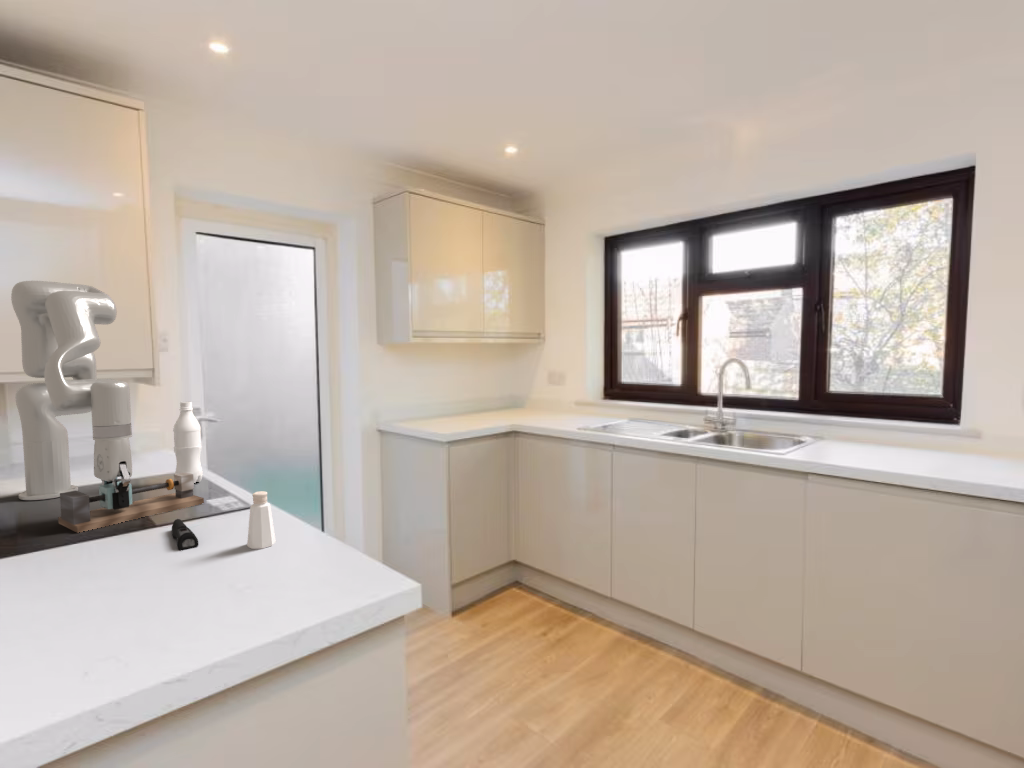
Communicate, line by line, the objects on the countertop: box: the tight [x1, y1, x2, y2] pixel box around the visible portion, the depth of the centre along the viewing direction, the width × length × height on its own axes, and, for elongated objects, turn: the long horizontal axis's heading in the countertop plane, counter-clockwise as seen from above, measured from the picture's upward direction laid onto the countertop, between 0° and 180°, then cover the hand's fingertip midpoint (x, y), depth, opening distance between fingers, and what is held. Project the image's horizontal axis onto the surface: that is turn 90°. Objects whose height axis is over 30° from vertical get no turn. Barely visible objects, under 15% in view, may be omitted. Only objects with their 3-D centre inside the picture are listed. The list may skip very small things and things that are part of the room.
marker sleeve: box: [98, 482, 133, 509], centre depth 128 cm, size 5×5×5 cm
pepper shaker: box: [246, 490, 277, 550], centre depth 110 cm, size 5×5×11 cm
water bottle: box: [172, 401, 204, 484], centre depth 161 cm, size 7×7×25 cm
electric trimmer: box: [171, 518, 199, 551], centre depth 114 cm, size 4×16×3 cm, turn 39°
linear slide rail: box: [57, 472, 205, 534], centre depth 132 cm, size 27×12×8 cm, turn 146°
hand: (116, 505), depth 129 cm, fingers closed on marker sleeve, 5 cm apart
